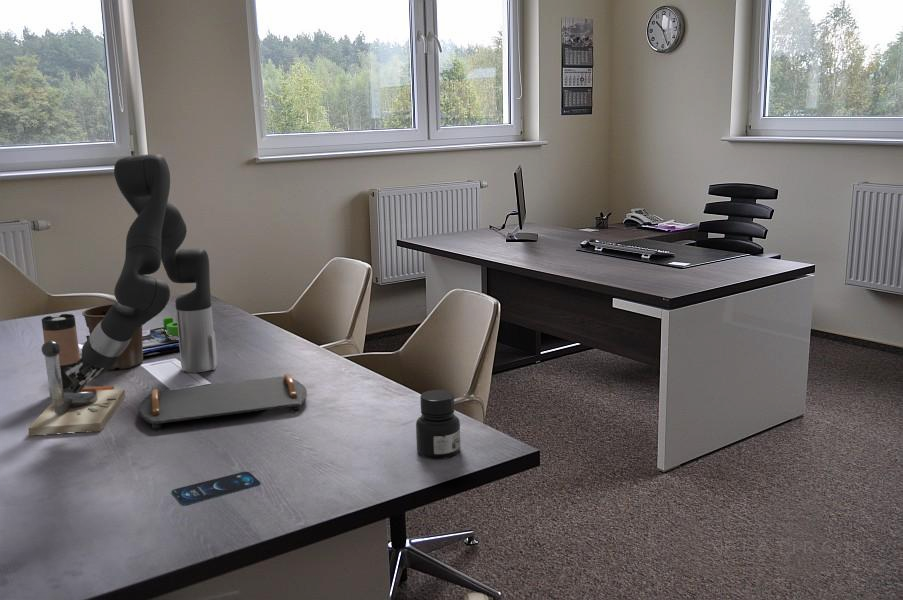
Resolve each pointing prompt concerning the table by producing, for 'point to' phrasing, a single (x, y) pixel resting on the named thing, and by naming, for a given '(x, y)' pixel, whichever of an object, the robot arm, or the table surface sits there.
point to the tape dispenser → (170, 326)
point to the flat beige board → (79, 415)
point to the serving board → (221, 399)
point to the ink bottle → (437, 425)
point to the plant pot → (135, 347)
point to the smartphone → (215, 488)
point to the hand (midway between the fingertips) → (74, 389)
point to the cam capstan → (58, 395)
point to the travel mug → (63, 341)
